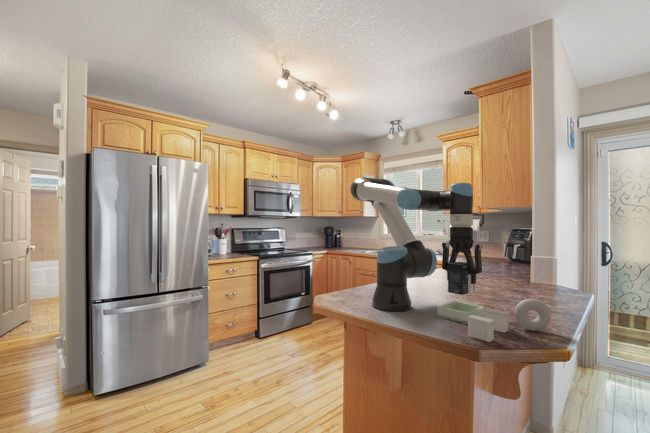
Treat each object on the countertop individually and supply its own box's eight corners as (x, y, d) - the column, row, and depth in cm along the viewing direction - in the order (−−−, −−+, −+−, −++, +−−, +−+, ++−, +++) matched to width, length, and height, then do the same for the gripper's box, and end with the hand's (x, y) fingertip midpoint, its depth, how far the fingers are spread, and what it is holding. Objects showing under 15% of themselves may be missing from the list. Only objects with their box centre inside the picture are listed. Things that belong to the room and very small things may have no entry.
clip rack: (466, 336, 90) (466, 317, 90) (487, 325, 100) (487, 307, 101) (489, 342, 85) (489, 322, 85) (509, 330, 96) (509, 312, 96)
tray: (437, 316, 109) (437, 306, 109) (454, 310, 118) (454, 300, 118) (468, 324, 101) (468, 313, 101) (484, 316, 109) (484, 306, 110)
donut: (516, 331, 95) (516, 298, 95) (512, 327, 98) (512, 296, 99) (553, 334, 93) (553, 301, 93) (547, 330, 96) (547, 298, 96)
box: (462, 295, 105) (462, 264, 105) (447, 292, 109) (447, 262, 110) (475, 292, 109) (474, 262, 110) (460, 290, 114) (459, 261, 114)
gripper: (431, 226, 115) (431, 288, 114) (484, 226, 100) (485, 298, 100) (441, 226, 120) (441, 286, 119) (493, 226, 105) (493, 294, 105)
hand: (461, 291), depth 109 cm, fingers closed on box, 6 cm apart
